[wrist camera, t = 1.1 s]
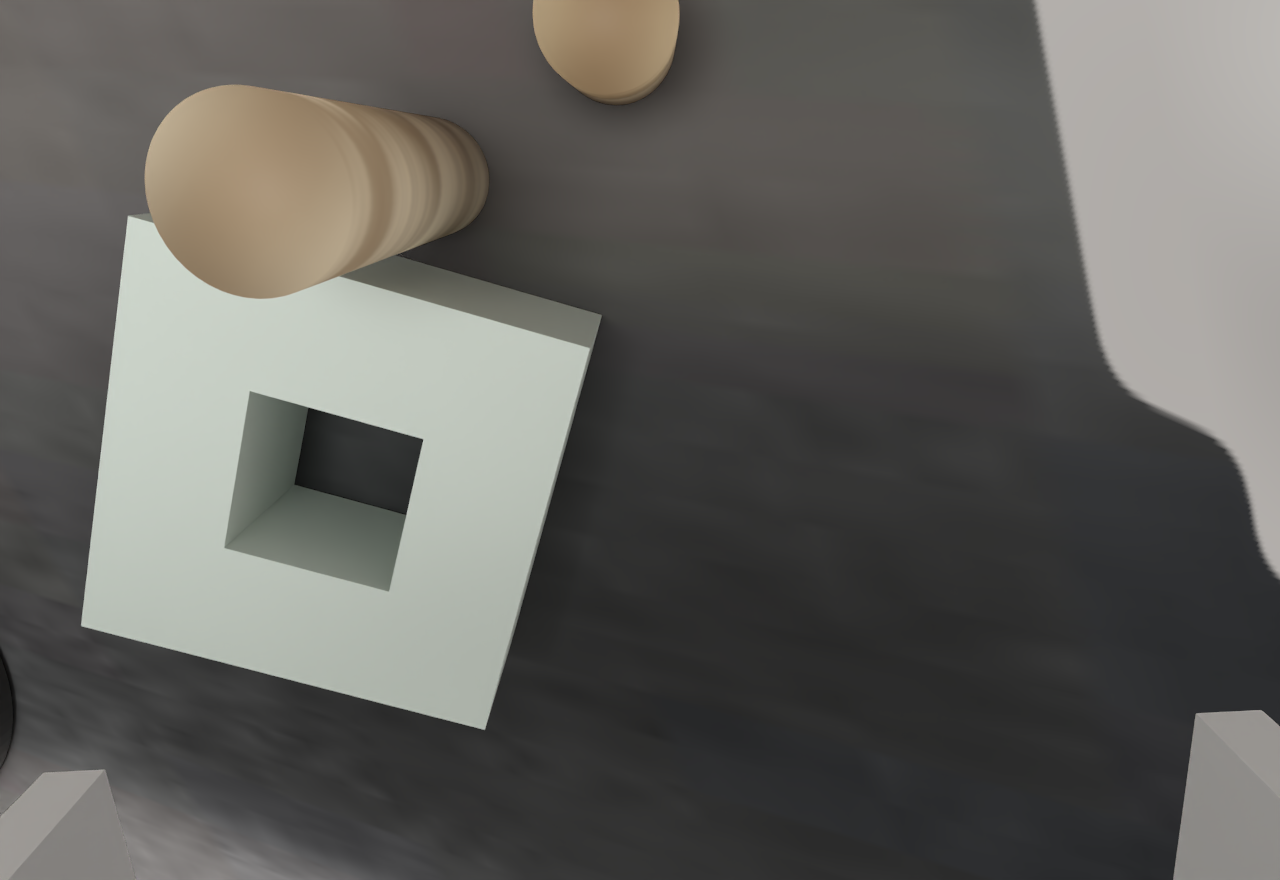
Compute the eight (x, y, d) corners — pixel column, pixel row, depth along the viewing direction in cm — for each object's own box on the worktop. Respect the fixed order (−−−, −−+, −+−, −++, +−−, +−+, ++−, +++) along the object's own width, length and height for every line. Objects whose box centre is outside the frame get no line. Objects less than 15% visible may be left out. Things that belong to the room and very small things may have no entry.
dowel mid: (543, 85, 31) (517, 69, 25) (573, -41, 30) (553, -88, 24) (656, 120, 31) (655, 111, 26) (690, -4, 30) (697, -41, 24)
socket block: (171, 552, 36) (81, 626, 31) (222, 205, 32) (128, 215, 27) (511, 641, 37) (484, 729, 32) (601, 314, 33) (590, 348, 28)
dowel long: (365, 217, 32) (133, 266, 18) (387, 102, 31) (158, 57, 17) (475, 249, 33) (331, 323, 18) (501, 136, 31) (369, 120, 17)
